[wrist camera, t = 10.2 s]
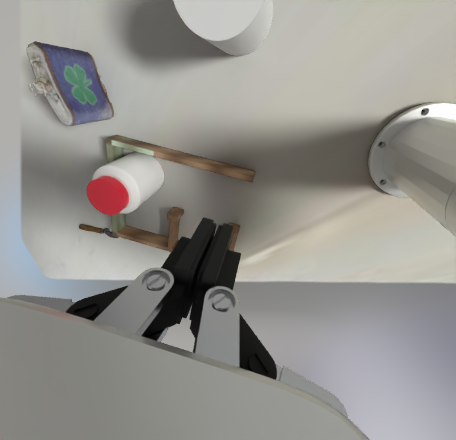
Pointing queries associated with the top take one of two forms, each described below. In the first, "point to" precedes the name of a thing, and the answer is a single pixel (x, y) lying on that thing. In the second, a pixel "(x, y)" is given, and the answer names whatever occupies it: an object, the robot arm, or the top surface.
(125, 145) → the wooden frame
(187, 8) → the cup
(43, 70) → the flask
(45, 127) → the top surface
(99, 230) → the can opener
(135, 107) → the top surface
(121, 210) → the pill bottle
